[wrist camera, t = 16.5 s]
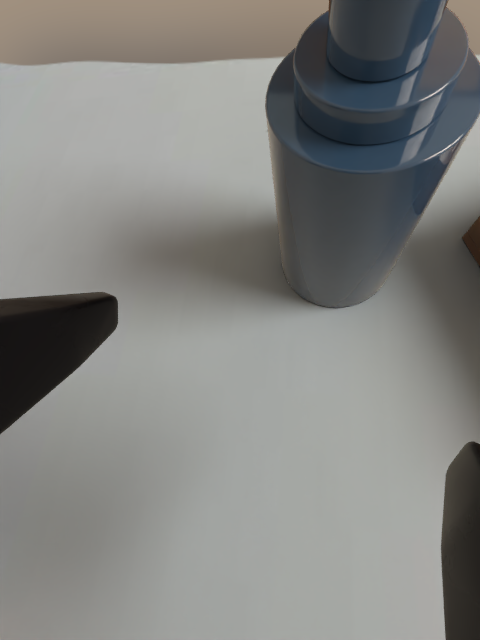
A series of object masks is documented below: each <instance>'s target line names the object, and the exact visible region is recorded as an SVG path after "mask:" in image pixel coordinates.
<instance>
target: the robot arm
mask: <svg viewBox="0 0 480 640" xmlns="http://www.w3.org/2000/svg"><path fill="white" fill-rule="evenodd" d="M117 324H118V301H117V299H116V297H114V296H112V295H110V294H107V293H105V292H94V293H80V294H67V295H53V296H39V297H26V298H12V299H0V434H1V433H2V432H3V431H5V430H6V429H7V428H8V427H9V426H11V425H12V424H13V423H14V422H15V421H16V420H18V419H19V418H20V417H21V416H22V415H23V414H25V413H26V412H27V411H28V410H29V409H31V408H32V407H33V406H34V405H35V404H36V403H38V402H39V401H40V400H41V399H42V398H43V397H45V396H46V395H47V394H48V393H49V392H50V391H52V390H53V389H54V388H55V387H56V386H58V385H59V384H60V383H61V382H62V381H63V380H65V379H66V378H67V377H68V376H69V375H70V374H72V373H73V372H74V371H75V370H76V369H77V368H78V367H79V366H80V365H81V364H83V363H84V362H85V361H86V359H87V358H88V357H89V356H90V355H91V354H92V353H93V352H94V351H95V350H96V349H97V348H98V347H99V346H100V345H101V344H102V343H103V342H104V341H105V340H106V339H107V338H108V337H109V336H110V335H111V334H112V333H113V332H114V330H115V329H116V327H117ZM441 558H442V578H443V597H444V616H445V635H446V640H480V444H479V443H476V442H473V441H472V442H468V443H467V444H466V445H465V446H464V447H463V448H462V450H461V451H460V452H459V454H458V455H457V456H456V458H455V459H454V460H453V461H452V463H451V464H450V466H449V467H448V470H447V473H446V481H445V496H444V510H443V524H442V540H441Z"/></svg>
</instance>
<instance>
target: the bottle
mask: <svg viewBox="0 0 480 640" xmlns="http://www.w3.org/2000/svg"><path fill="white" fill-rule="evenodd" d="M447 2H448V0H329V10H328V11H327V12H325V13H323V14H322V15H321V16H319V17H318V18H317V19H316V20H314V21H313V22H312V23H311V24H310V25H309V26H308V27H307V29H306V30H305V31H304V33H303V34H302V35H301V37H300V39H299V41H298V43H297V46H296V48H294V49H293V50H292V51H291V52H290V53H289V54H288V55H287V56H286V57H285V58H284V59H283V60H282V62H281V63H280V64H279V66H278V67H277V69H276V70H275V72H274V74H273V76H272V78H271V80H270V83H269V85H268V89H267V93H266V101H265V109H266V118H267V128H268V137H269V146H270V156H271V165H272V174H273V184H274V193H275V203H276V212H277V221H278V231H279V240H280V250H281V259H282V268H283V272H284V275H285V277H286V280H287V281H288V283H289V285H290V286H291V287H292V288H293V290H294V291H295V292H296V293H297V294H299V295H300V296H301V297H303V298H304V299H306V300H308V301H309V302H312V303H314V304H317V305H320V306H324V307H332V308H340V307H348V306H352V305H356V304H358V303H361V302H363V301H365V300H367V299H369V298H370V297H371V296H373V295H374V294H375V293H376V292H377V291H379V289H380V288H381V287H382V286H383V284H384V283H385V281H386V279H387V278H388V276H389V274H390V272H391V271H392V269H393V267H394V265H395V263H396V262H397V260H398V258H399V256H400V255H401V253H402V251H403V249H404V248H405V246H406V244H407V242H408V241H409V239H410V237H411V235H412V233H413V232H414V230H415V228H416V226H417V225H418V223H419V221H420V219H421V218H422V216H423V214H424V212H425V210H426V209H427V207H428V205H429V203H430V202H431V200H432V198H433V196H434V195H435V193H436V191H437V189H438V187H439V186H440V184H441V182H442V180H443V179H444V177H445V175H446V173H447V172H448V170H449V168H450V166H451V165H452V163H453V161H454V159H455V157H456V156H457V154H458V152H459V150H460V149H461V147H462V145H463V143H464V142H465V140H466V138H467V136H468V134H469V133H470V131H471V129H472V127H473V126H474V124H475V122H476V120H477V119H478V117H479V115H480V63H479V61H478V59H477V58H476V56H475V55H474V53H473V52H472V51H471V49H470V48H469V47H468V36H467V32H466V30H465V27H464V25H463V24H462V22H461V21H460V19H459V18H458V17H457V16H456V15H455V14H454V13H453V12H452V11H450V10H449V9H448V8H447V7H446V5H447Z"/></svg>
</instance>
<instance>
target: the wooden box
mask: <svg viewBox="0 0 480 640" xmlns="http://www.w3.org/2000/svg"><path fill="white" fill-rule="evenodd" d="M462 239H463V241H464V242H465V244H466V245H467V247H468V249H469V250H470V252H471V253H472V255H473V257H474V258H475V260H476V261H477V263H478V265H479V266H480V216H479V218H478V219H477V220H476V221H475V222H474V224H473V225H472V226H471V227H470V229H469V230H468V231H467V232H466V233H465V235H464V236H463V237H462Z"/></svg>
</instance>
